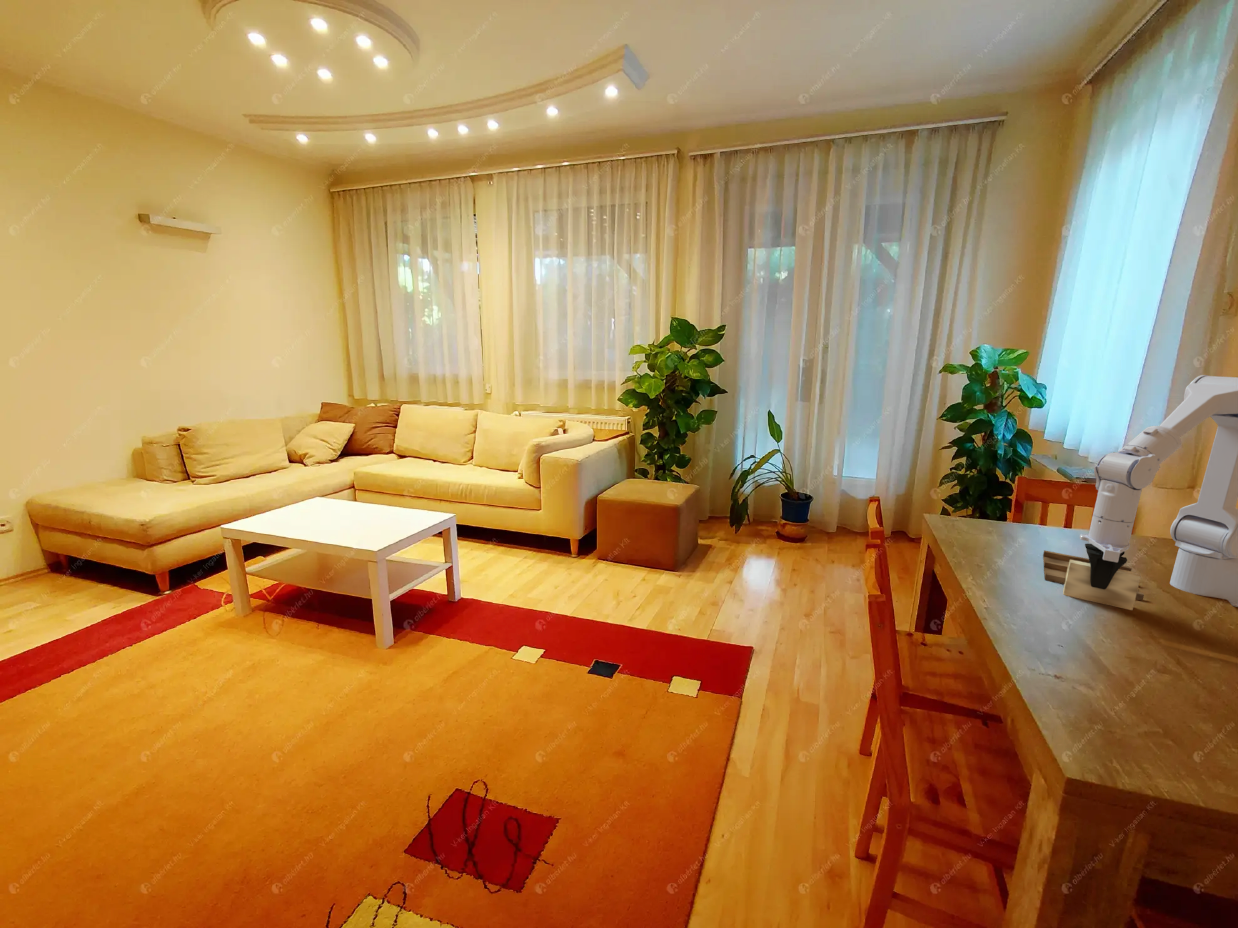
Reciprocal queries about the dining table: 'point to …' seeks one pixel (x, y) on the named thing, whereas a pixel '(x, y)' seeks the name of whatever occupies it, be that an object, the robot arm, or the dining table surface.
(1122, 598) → the birch panel
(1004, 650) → the dining table surface
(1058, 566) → the walnut rack
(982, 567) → the dining table surface
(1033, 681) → the dining table surface
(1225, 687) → the dining table surface
